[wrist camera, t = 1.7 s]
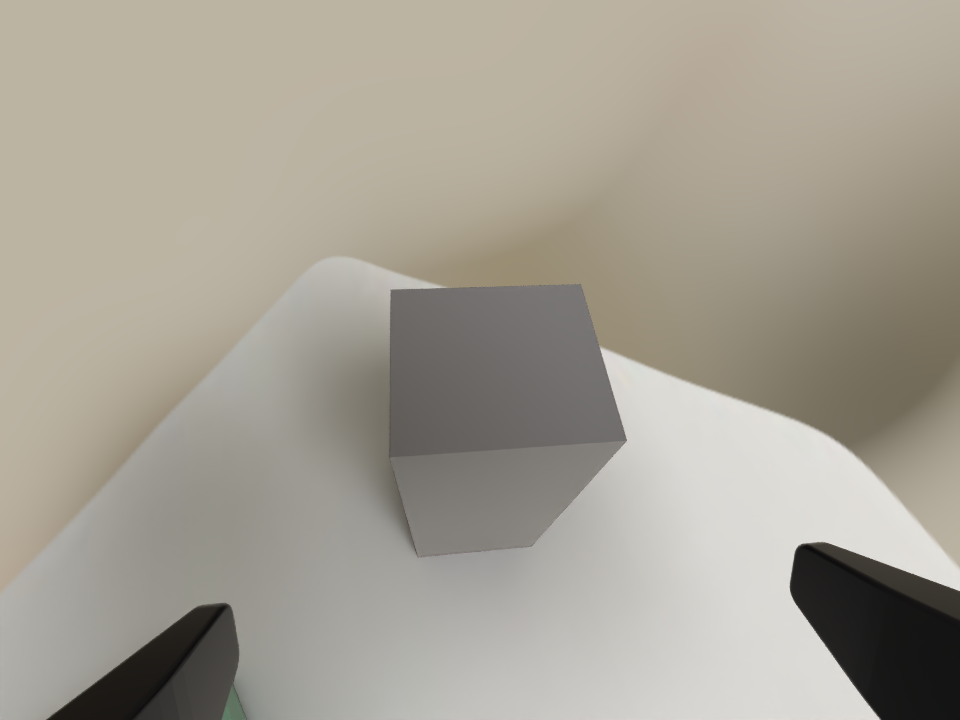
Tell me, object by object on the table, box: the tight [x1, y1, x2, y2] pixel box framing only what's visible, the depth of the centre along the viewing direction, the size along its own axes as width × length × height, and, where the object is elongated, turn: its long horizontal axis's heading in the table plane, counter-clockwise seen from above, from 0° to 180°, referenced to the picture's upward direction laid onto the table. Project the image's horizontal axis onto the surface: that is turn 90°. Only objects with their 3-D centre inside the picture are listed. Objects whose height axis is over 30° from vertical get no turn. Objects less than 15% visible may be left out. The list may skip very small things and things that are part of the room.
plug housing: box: [389, 284, 627, 557], centre depth 14 cm, size 4×4×11 cm
